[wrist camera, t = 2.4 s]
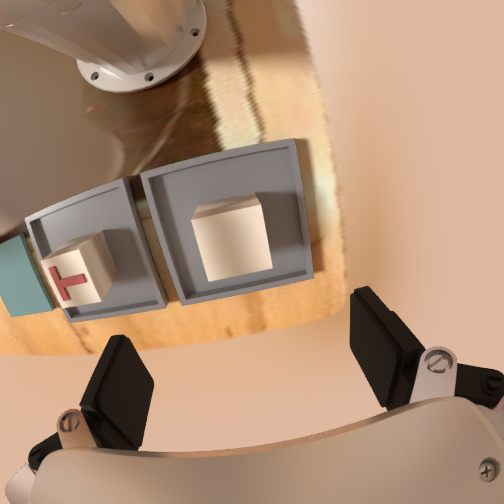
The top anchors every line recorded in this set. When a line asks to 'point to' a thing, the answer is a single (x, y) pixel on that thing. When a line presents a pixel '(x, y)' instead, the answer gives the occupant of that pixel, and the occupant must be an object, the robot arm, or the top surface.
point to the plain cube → (232, 237)
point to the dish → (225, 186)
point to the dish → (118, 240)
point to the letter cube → (81, 270)
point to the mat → (21, 280)
